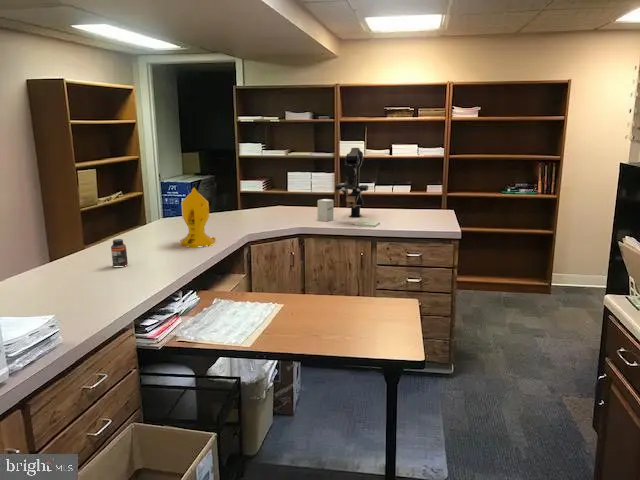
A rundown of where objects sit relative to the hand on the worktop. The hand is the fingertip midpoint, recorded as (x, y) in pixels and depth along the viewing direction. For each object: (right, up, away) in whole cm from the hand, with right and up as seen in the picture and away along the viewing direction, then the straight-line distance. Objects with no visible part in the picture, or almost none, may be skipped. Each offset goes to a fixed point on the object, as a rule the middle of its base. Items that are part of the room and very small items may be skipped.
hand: (351, 202), depth 307 cm
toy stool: (0, -3, +1) cm, 3 cm away
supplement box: (-15, -10, +14) cm, 23 cm away
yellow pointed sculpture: (-79, -24, -47) cm, 95 cm away
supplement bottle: (-103, -34, -87) cm, 139 cm away
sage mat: (+10, -13, +1) cm, 16 cm away
